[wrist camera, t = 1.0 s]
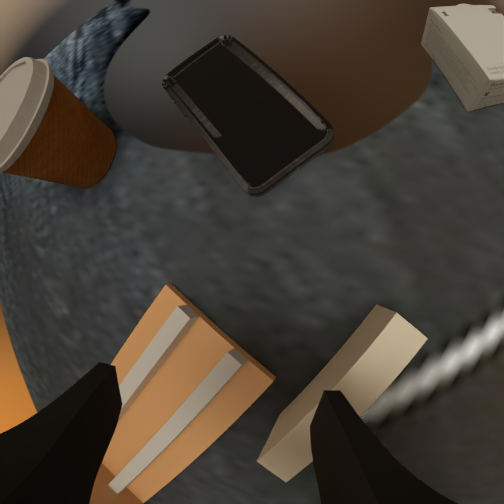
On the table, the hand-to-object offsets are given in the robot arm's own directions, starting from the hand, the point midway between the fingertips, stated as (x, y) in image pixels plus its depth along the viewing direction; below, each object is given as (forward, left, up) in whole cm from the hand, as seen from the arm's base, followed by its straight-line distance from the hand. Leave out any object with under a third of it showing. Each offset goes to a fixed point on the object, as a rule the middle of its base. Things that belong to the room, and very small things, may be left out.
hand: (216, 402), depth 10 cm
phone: (+14, -12, -12) cm, 22 cm away
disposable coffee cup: (+24, -1, -12) cm, 26 cm away
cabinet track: (+4, +12, -11) cm, 17 cm away
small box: (0, -28, -12) cm, 31 cm away
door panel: (-4, -1, -11) cm, 12 cm away
